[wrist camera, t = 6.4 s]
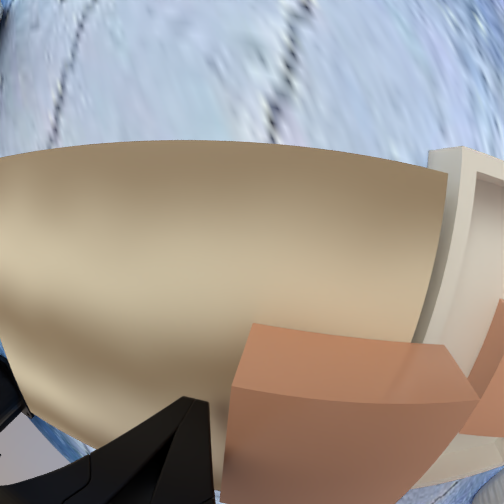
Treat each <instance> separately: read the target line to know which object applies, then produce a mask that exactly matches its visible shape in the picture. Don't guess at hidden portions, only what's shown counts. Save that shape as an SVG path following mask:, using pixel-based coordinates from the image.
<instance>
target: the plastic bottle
mask: <svg viewBox="0 0 504 504" xmlns="http://www.w3.org/2000/svg"><path fill="white" fill-rule="evenodd" d="M2 15H3V5H2V3H1V0H0V21H1V18H2Z"/></svg>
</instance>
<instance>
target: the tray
mask: <svg viewBox="0 0 504 504" xmlns="http://www.w3.org/2000/svg"><path fill="white" fill-rule="evenodd" d="M427 168H429V169H433V170H437V171H441V172H445V173H448V181H447V190H446V198H445V206H444V213H443V219H442V225H441V231H440V237H439V242H438V247H437V252H436V256H435V261H434V265H433V270H432V274H431V278H430V282H429V286H428V289H427V293H426V297H425V300H424V304H423V307H422V310H421V314H420V317H419V320H418V323H417V326H416V329H415V332H414V335H413V338H412V341H411V343H422V344H439V345H445V347H446V348H447V350H448V351H449V353H450V354H451V355H452V357H453V358H454V360H455V361H456V363H457V364H458V366H459V367H460V369H461V370H462V372H463V373H464V375H465V376H466V378H468V376H469V374H470V372H471V370H472V367H473V365H474V363H475V361H476V359H477V357H478V354H479V352H480V350H481V347H482V345H483V343H484V340H485V338H486V335H487V333H488V330H489V328H490V325H491V322H492V320H493V317H494V314H495V311H496V308H497V305H498V302H499V299H504V161H503V160H500V159H498V158H495V157H493V156H490V155H487V154H485V153H482V152H479V151H476V150H473V149H470V148H467V147H464V146H458V147H451V148H444V149H437V150H430V151H429V154H428V167H427ZM503 465H504V438H503V437H488V436H476V435H467V434H459V432H458V433H457V435H456V436H455V437H454V439H453V440H452V441H451V443H450V444H449V445H448V447H447V448H446V449H445V450H444V452H443V453H442V454H441V455H440V456H439V458H438V459H437V460H436V461H435V462H434V464H433V465H432V466H431V467H430V468H429V469H428V470H427V472H426V473H425V474H424V475H423V476H422V477H421V478H420V479H419V480H418V481H417V482H416V483H415V484H414V486H413V487H412V488H411V489H415V488H421V487H427V486H432V485H437V484H441V483H446V482H450V481H454V480H458V479H462V478H466V477H469V476H473V475H476V474H479V473H482V472H485V471H488V470H491V469H494V468H497V467H500V466H503Z"/></svg>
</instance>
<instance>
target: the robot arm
mask: <svg viewBox="0 0 504 504" xmlns="http://www.w3.org/2000/svg"><path fill="white" fill-rule="evenodd" d="M21 412H22V413H24V414H25V415H26V416H28V417H29V418H31V419H32V418H33V417H34V414H33V413H32V412H31V411H30V409H29V407H28V405H27V403H26V401H25V399H24V397H23V395H22V393H21V391H20V388H19V386H18V384H17V381H16V379H15V377H14V374H13V372H12V369H11V367H10V364H9V361H8V360H6V359H5V358H3V357H2V356H1V355H0V432H1V431H2V430H3V429H4V428H5V427H6V426H7V425H8V424H9V423H10V422H12V421H13V420H14V419H15V418H16V417H17V416H18V415H19V414H20V413H21ZM0 456H1V454H0ZM0 504H216V503H215V493H214V479H213V465H212V448H211V428H210V404H209V402H208V401H204V400H200V399H195V398H191V397H187V396H182V397H180V398H179V399H177V400H176V401H174V402H173V403H171V404H170V405H168V406H167V407H165V408H164V409H162V410H161V411H159V412H158V413H156V414H154V415H153V416H151V417H150V418H148V419H147V420H145V421H144V422H142V423H140V424H139V425H137V426H136V427H134V428H132V429H131V430H129V431H127V432H126V433H124V434H122V435H121V436H119V437H117V438H116V439H114V440H112V441H111V442H109V443H107V444H106V445H104V446H102V447H100V448H99V449H97V450H95V451H93V452H91V453H90V455H89V454H88V455H86V456H84V457H82V458H80V459H79V460H77V461H75V462H73V463H71V464H68V465H67V466H65V467H62V468H60V469H57V470H55V471H52V472H49V473H47V474H44V475H41V476H38V477H35V478H32V479H28V480H25V481H22V482H19V483H15V484H11V485H4V486H0Z"/></svg>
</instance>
